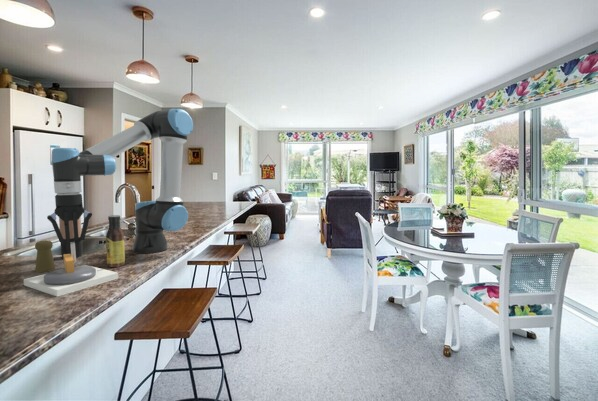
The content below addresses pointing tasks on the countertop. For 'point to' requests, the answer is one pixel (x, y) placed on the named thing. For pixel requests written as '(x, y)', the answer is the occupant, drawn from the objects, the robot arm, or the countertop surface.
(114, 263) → the sauce bottle
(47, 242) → the olive pepper mill
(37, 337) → the countertop surface
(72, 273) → the dial
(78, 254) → the travel mug
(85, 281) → the dial base
